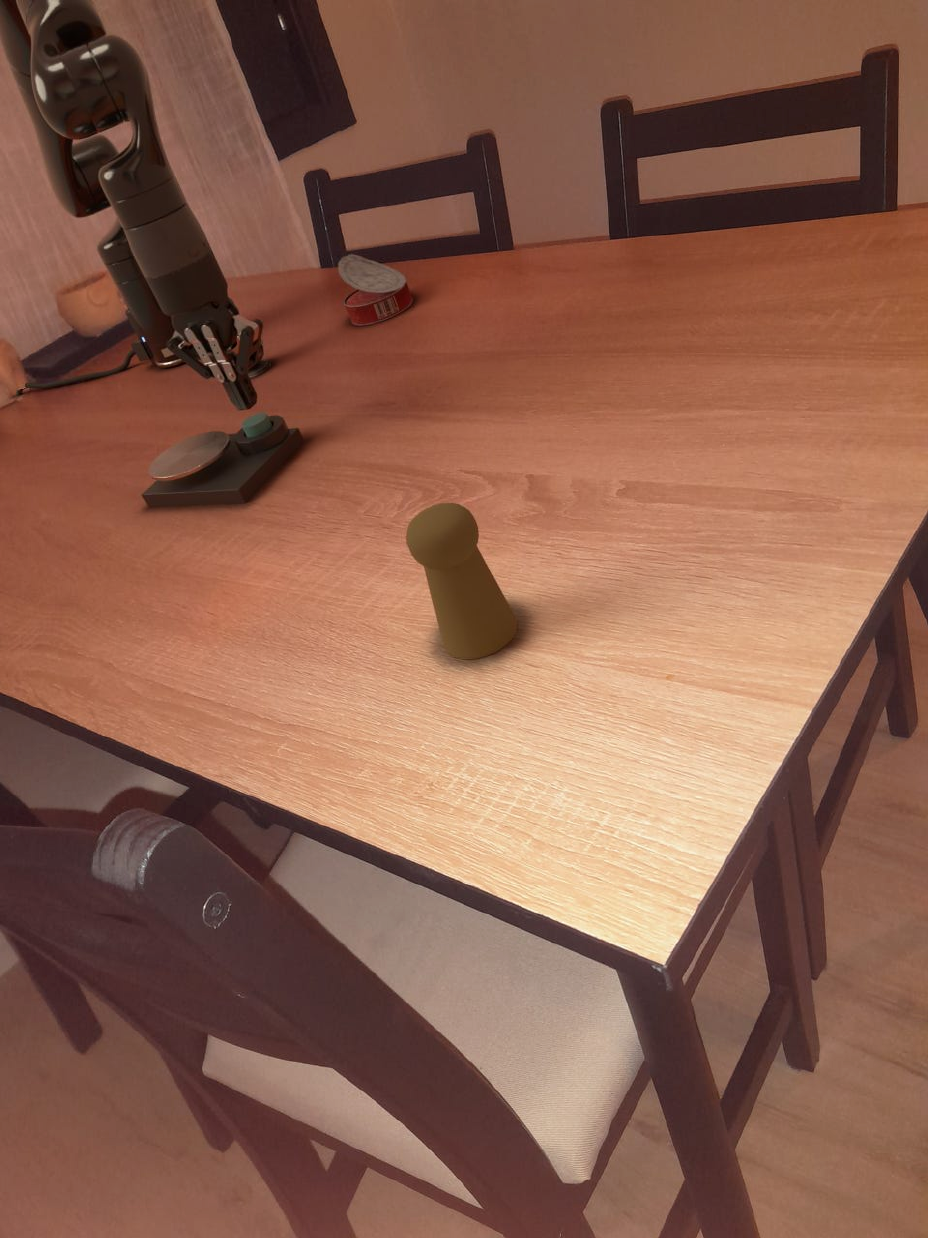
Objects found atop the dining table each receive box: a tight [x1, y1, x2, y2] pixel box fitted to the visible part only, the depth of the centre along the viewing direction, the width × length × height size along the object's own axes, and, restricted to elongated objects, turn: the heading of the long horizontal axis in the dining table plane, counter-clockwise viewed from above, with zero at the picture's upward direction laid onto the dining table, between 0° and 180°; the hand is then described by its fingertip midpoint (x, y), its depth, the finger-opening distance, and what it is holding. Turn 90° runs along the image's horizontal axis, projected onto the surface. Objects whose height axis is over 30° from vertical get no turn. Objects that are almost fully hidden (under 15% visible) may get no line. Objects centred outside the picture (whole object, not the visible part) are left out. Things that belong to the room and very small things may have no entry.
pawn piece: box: [405, 502, 519, 660], centre depth 70 cm, size 6×6×11 cm
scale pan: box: [148, 430, 230, 481], centre depth 110 cm, size 10×10×1 cm
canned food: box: [337, 253, 414, 327], centre depth 141 cm, size 11×10×10 cm
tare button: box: [241, 412, 272, 437], centre depth 110 cm, size 3×3×2 cm
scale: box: [140, 414, 305, 509], centre depth 111 cm, size 15×14×4 cm
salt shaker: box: [229, 297, 272, 379], centre depth 135 cm, size 6×6×12 cm
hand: (248, 406), depth 109 cm, fingers closed
